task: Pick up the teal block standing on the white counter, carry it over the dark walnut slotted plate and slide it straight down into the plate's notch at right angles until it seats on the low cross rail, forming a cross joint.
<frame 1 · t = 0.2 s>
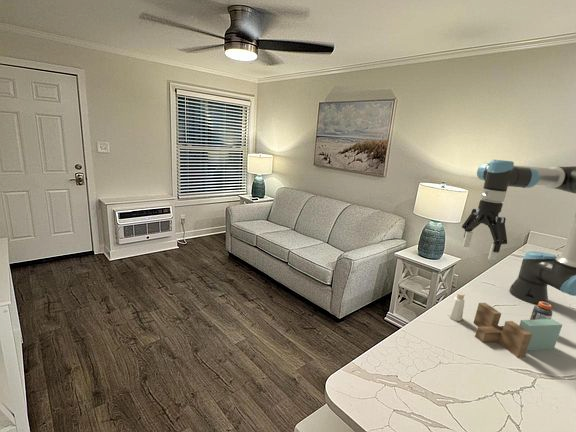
hand: (477, 252, 124), 28 cm above the counter, fingers open, 13 cm apart
teal block: (533, 346, 113), on the counter
pill bottle: (536, 329, 125), on the counter
walnut joint base: (496, 338, 115), on the counter
pepper shaker: (454, 317, 127), on the counter
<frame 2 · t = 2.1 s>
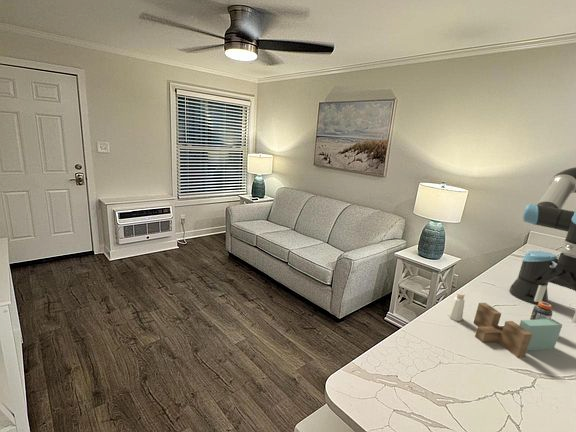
hand: (555, 311, 110), 14 cm above the counter, fingers open, 13 cm apart
nothing on the counter moved.
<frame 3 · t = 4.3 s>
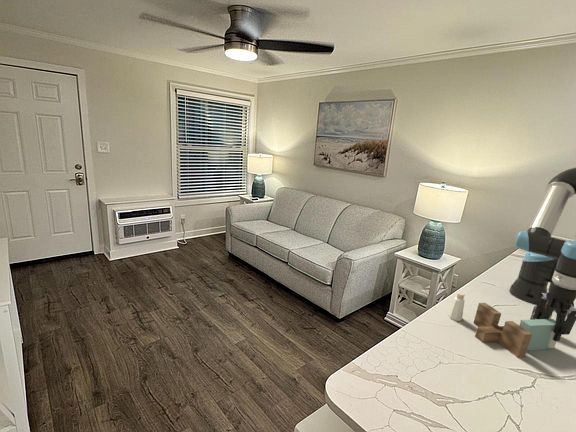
hand: (544, 343, 113), 1 cm above the counter, fingers closed on teal block, 3 cm apart
teal block: (533, 346, 113), on the counter, touching gripper
everything else where it was.
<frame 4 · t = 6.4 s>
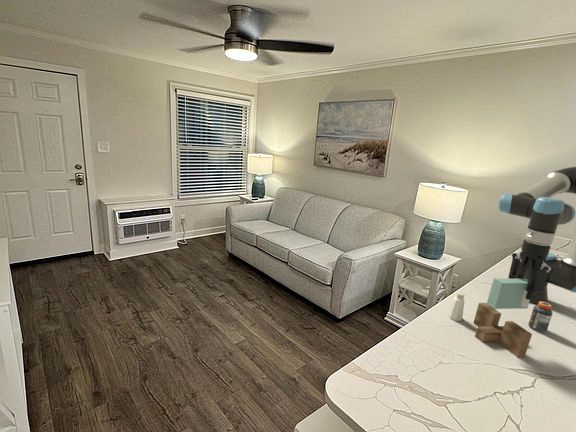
hand: (518, 302, 113), 15 cm above the counter, fingers closed on teal block, 3 cm apart
teal block: (506, 306, 112), point 14 cm above the counter, touching gripper
everything else where it was.
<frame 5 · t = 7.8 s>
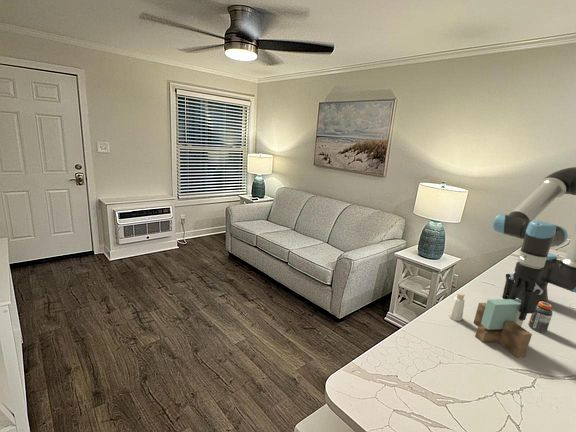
hand: (511, 323, 115), 6 cm above the counter, fingers closed on teal block, 3 cm apart
teal block: (500, 326, 114), point 5 cm above the counter, touching gripper
everything else where it was.
when the fingers open (5 cm above the counter, at t = 8.9 s): teal block stays where it is, resting on walnut joint base.
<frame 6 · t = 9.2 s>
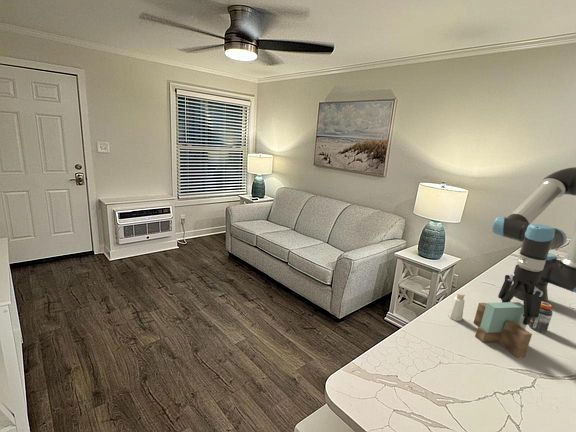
hand: (511, 324, 115), 6 cm above the counter, fingers open, 7 cm apart
teal block: (499, 329, 114), point 4 cm above the counter, touching walnut joint base
everything else where it was.
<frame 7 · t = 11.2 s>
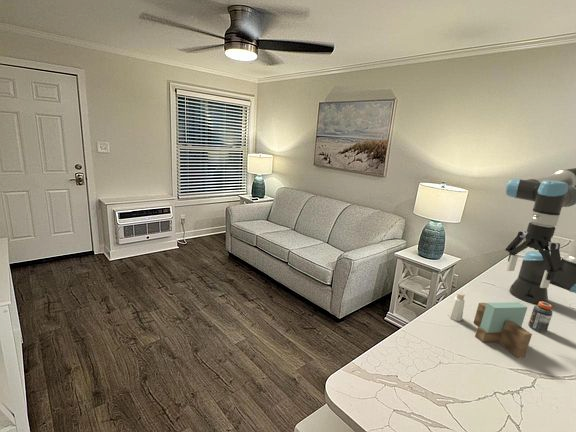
hand: (526, 278, 116), 22 cm above the counter, fingers open, 13 cm apart
nothing on the counter moved.
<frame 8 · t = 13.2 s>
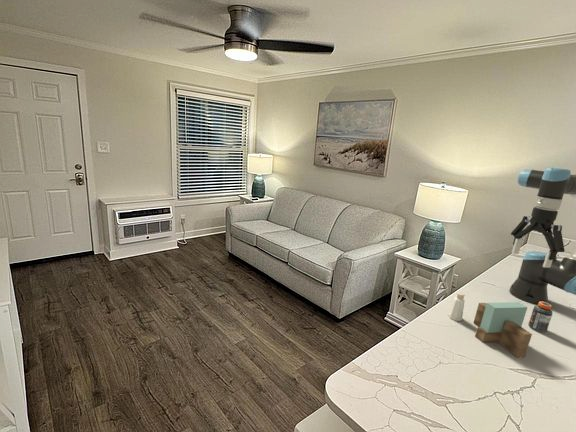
hand: (529, 260, 124), 27 cm above the counter, fingers open, 13 cm apart
nothing on the counter moved.
at the end: teal block 0.1 cm off-centre on the walnut joint base, point 4.0 cm above the walnut joint base's base; teal block tilted 0°; teal block touching walnut joint base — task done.
